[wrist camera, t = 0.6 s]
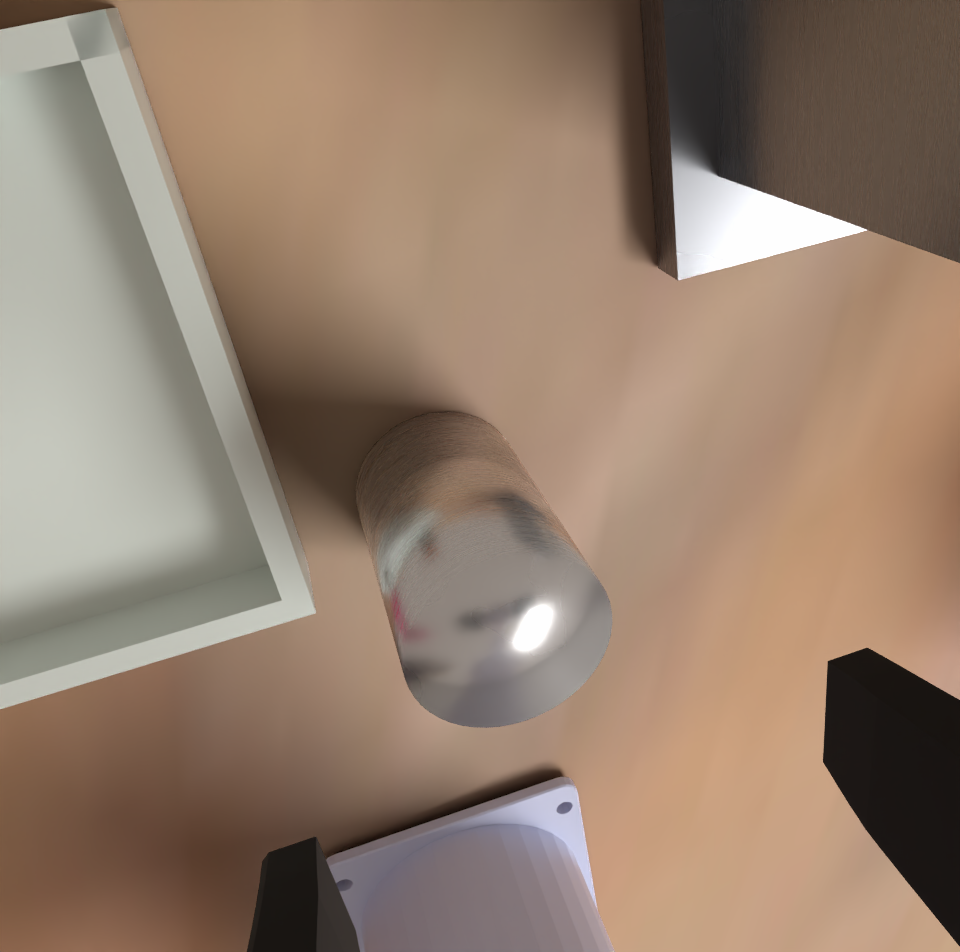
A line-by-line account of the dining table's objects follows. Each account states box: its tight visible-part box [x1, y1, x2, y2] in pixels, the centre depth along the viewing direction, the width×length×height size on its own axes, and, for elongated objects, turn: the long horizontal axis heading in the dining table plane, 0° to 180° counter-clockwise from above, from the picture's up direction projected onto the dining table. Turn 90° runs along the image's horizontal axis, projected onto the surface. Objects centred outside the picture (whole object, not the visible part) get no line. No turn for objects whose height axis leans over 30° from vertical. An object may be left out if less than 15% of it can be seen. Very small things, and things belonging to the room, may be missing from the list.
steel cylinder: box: [356, 412, 612, 728], centre depth 18 cm, size 4×4×6 cm
